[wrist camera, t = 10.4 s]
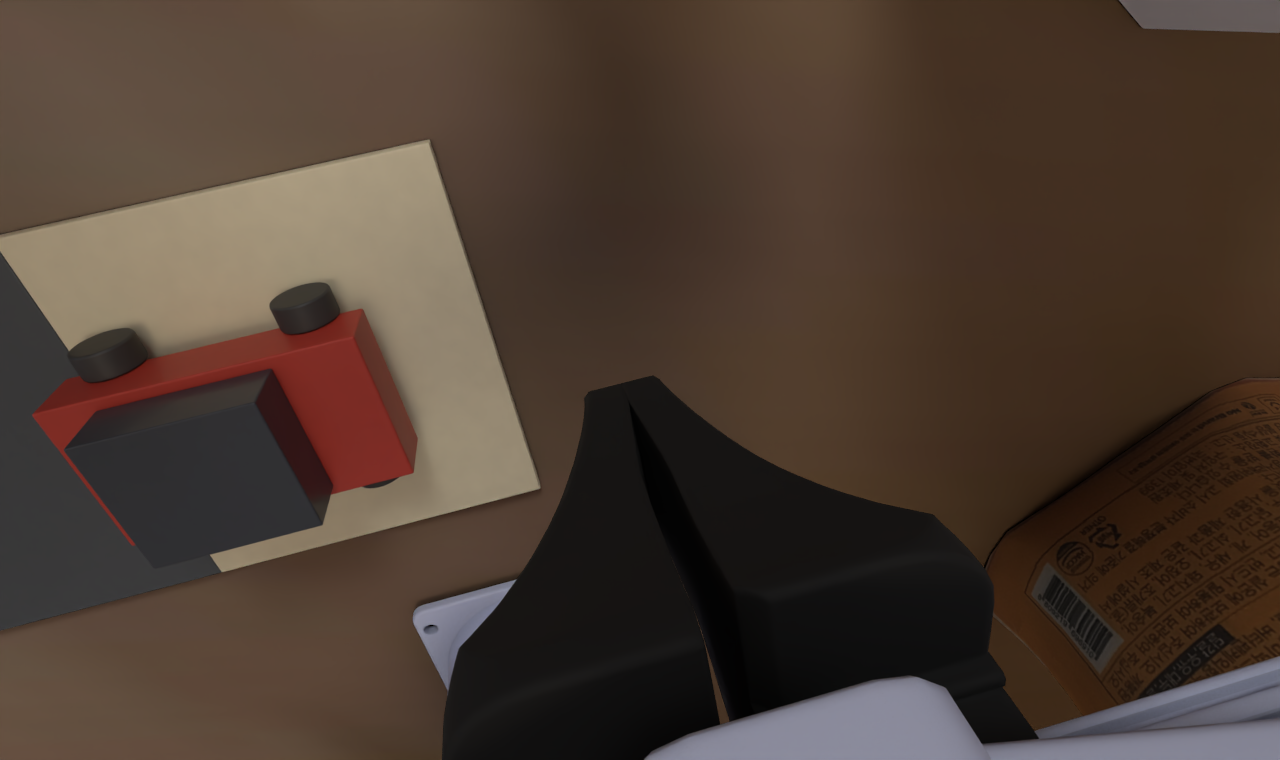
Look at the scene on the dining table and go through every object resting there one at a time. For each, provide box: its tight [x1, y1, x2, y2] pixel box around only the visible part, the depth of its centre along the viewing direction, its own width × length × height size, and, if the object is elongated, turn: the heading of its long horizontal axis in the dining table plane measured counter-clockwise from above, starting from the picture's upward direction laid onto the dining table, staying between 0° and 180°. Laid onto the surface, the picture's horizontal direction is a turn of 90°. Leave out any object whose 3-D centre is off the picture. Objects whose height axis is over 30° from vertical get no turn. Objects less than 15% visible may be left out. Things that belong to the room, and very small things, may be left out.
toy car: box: [32, 282, 418, 569], centre depth 20 cm, size 6×8×4 cm
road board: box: [0, 140, 540, 631], centre depth 21 cm, size 12×24×1 cm, turn 100°
